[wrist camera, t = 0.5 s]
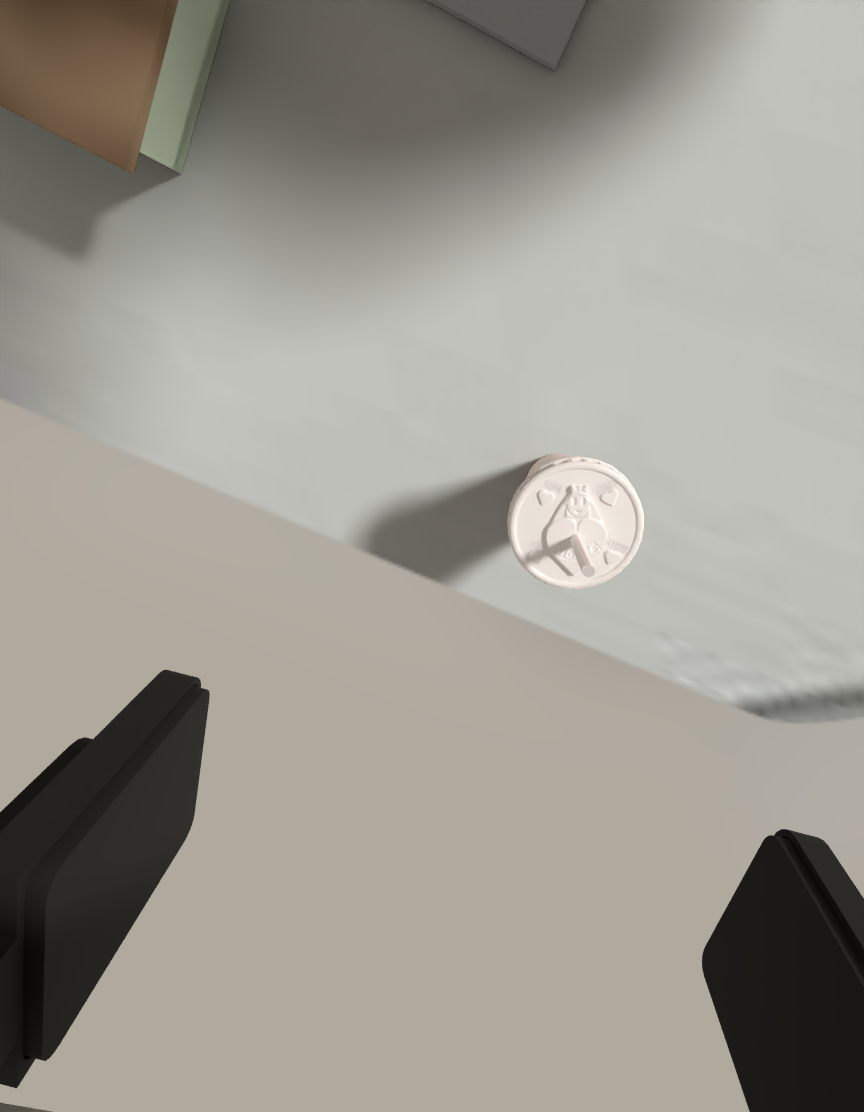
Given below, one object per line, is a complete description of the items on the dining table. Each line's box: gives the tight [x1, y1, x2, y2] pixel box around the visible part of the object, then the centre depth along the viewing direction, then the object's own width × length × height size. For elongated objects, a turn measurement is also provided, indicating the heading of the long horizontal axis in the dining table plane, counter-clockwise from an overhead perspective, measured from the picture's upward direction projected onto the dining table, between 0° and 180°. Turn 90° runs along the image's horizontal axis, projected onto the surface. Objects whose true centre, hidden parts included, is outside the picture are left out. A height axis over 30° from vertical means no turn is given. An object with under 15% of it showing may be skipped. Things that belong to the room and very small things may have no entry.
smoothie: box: [507, 454, 644, 589], centre depth 31 cm, size 6×6×14 cm
